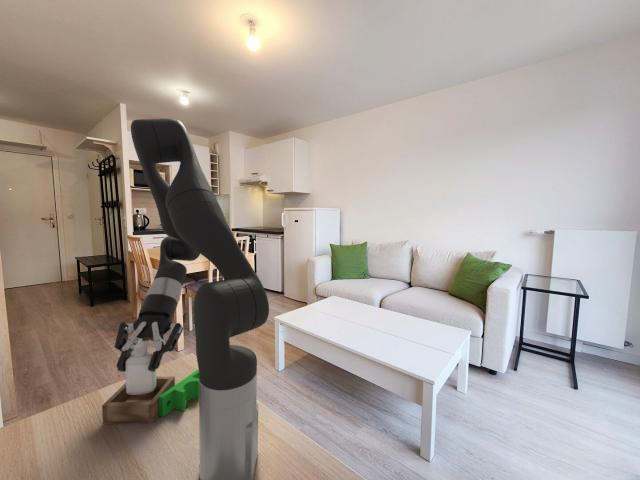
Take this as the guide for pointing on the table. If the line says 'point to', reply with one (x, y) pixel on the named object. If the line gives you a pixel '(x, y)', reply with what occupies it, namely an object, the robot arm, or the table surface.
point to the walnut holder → (135, 404)
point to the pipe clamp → (179, 394)
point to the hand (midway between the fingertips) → (136, 370)
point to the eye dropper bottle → (139, 371)
